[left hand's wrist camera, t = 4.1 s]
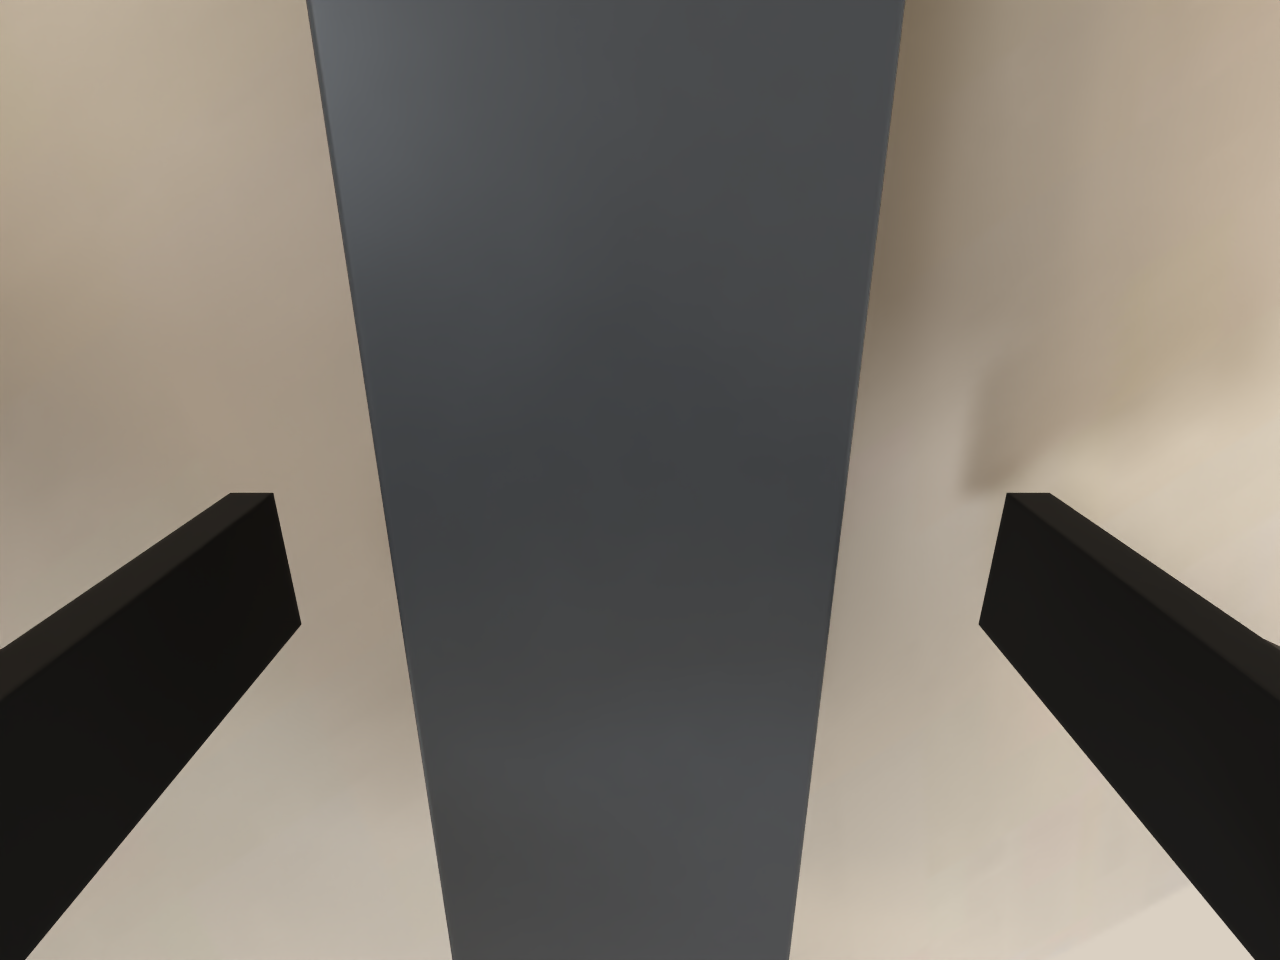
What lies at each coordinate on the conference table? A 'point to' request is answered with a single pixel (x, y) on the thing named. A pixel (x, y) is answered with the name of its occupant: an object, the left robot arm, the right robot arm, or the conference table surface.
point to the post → (612, 435)
